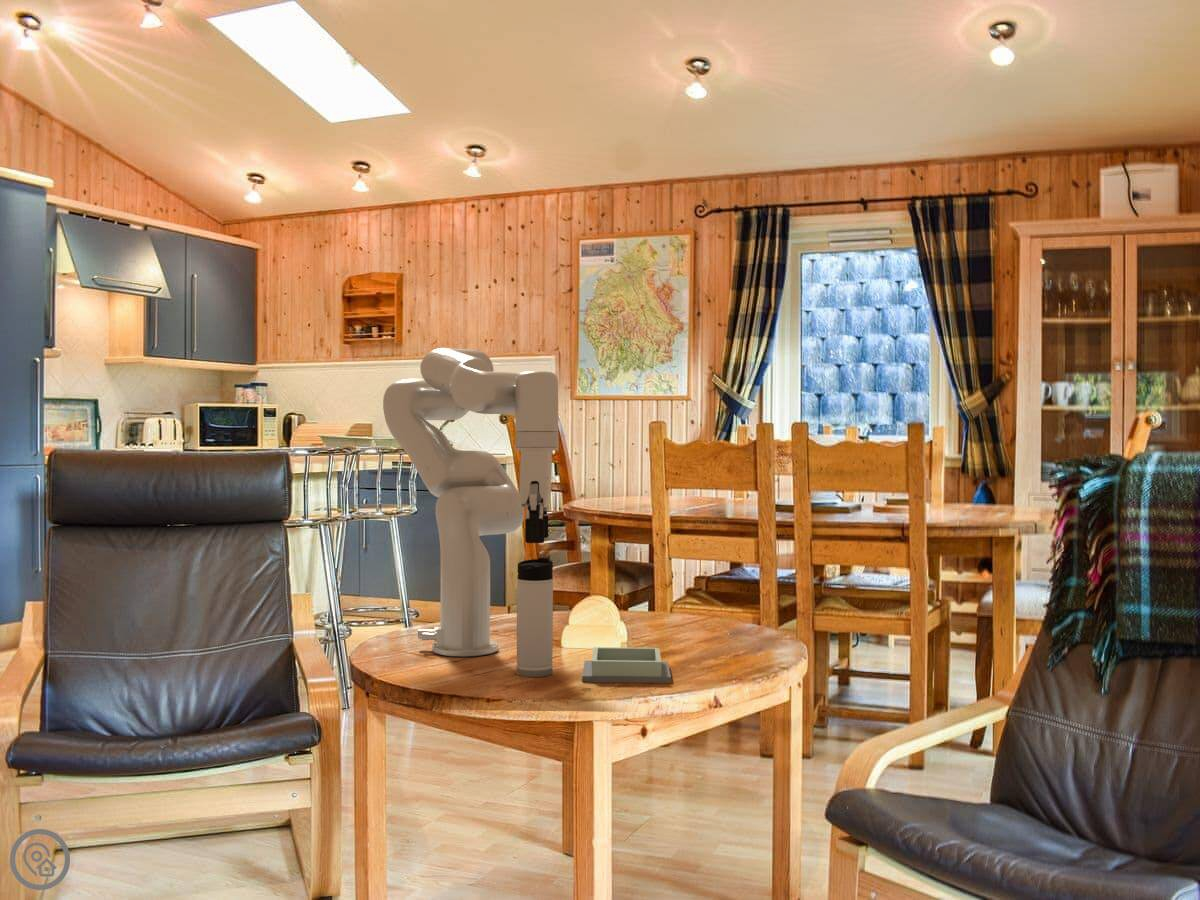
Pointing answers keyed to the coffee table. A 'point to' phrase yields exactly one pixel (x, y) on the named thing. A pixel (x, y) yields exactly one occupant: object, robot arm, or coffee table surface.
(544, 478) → the robot arm
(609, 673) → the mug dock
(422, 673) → the coffee table surface
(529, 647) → the travel mug
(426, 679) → the coffee table surface
